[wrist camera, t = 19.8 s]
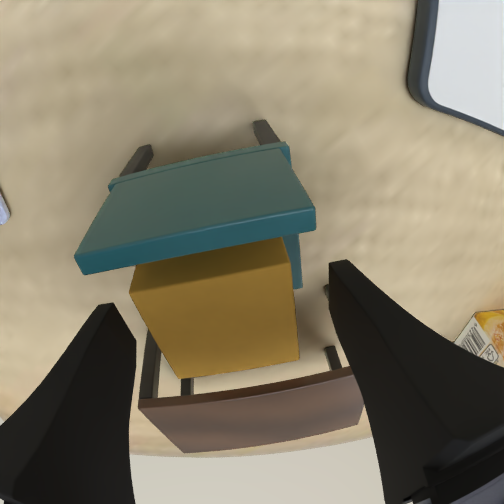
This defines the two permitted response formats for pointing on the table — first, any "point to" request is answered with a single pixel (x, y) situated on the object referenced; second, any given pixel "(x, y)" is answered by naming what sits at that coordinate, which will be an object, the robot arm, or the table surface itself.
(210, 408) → the side table
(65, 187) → the table surface
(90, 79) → the table surface
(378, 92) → the table surface
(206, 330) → the mustard yellow block
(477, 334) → the beverage box
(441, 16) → the phone case
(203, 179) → the chair
